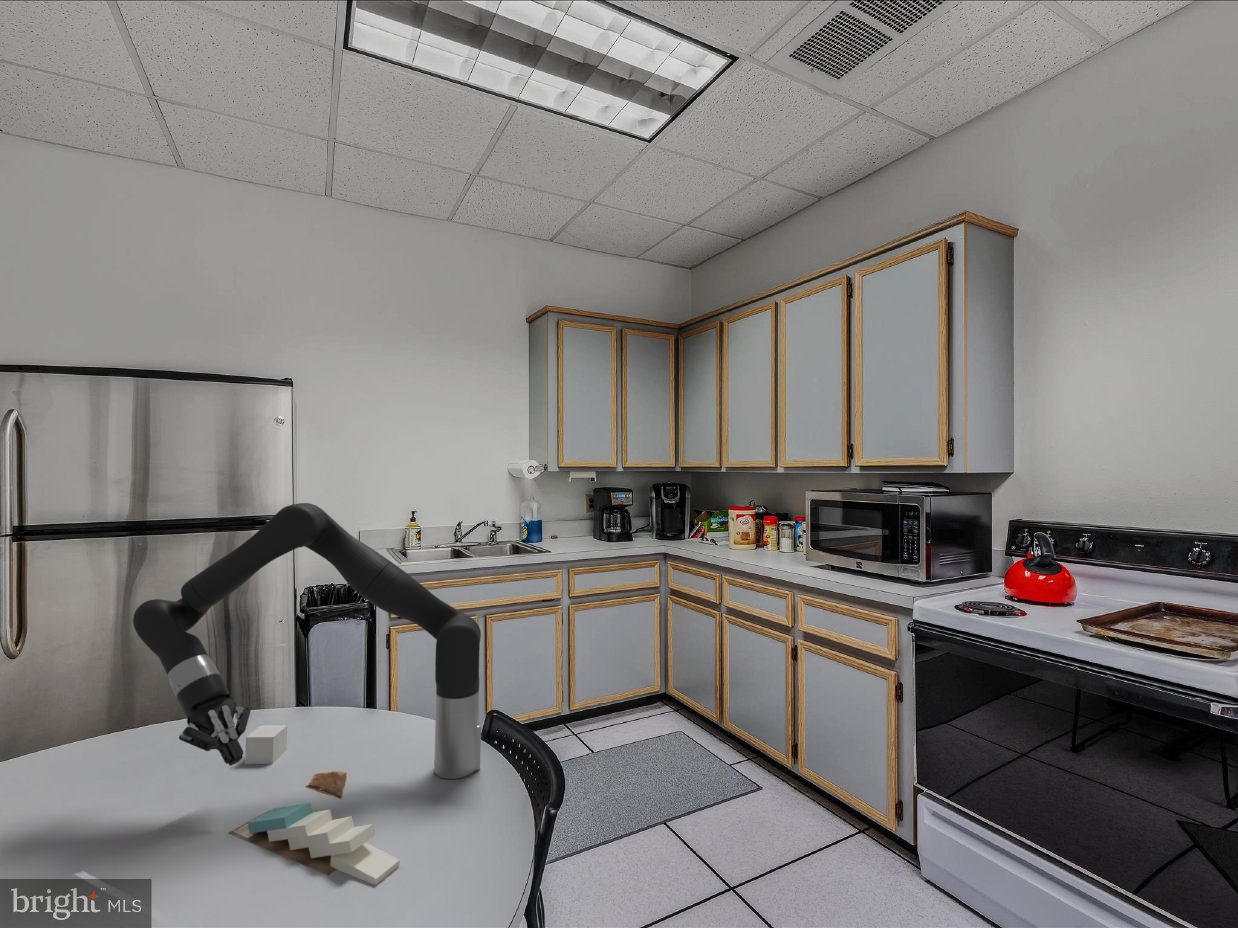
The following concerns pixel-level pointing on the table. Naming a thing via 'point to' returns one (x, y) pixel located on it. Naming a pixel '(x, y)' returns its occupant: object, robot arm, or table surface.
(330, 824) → the domino
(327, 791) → the shard
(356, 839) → the domino
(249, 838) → the board
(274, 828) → the teal domino
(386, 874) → the domino
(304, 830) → the domino
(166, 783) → the table surface
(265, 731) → the white cube
